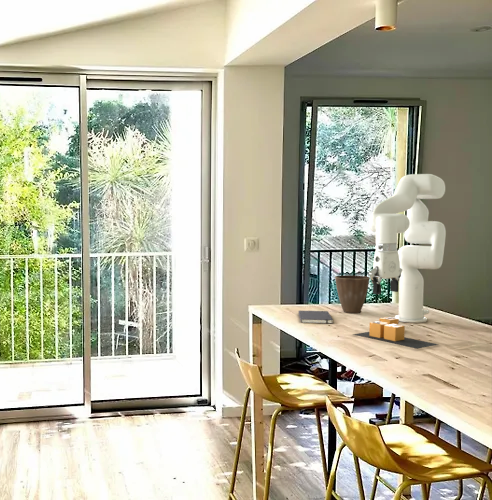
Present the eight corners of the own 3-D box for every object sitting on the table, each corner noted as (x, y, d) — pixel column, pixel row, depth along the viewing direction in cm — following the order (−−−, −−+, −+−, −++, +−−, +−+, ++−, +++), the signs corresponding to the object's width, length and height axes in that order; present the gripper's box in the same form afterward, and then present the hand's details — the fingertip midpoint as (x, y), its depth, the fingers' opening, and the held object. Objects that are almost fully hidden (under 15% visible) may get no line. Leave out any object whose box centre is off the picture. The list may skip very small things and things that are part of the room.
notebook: (298, 313, 291) (301, 322, 270) (298, 310, 290) (301, 319, 270) (327, 314, 288) (332, 323, 267) (327, 311, 288) (333, 319, 267)
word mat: (374, 332, 249) (374, 330, 249) (439, 345, 225) (439, 344, 225) (352, 335, 243) (352, 334, 243) (416, 350, 219) (416, 348, 219)
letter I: (392, 337, 238) (393, 323, 237) (404, 339, 233) (404, 325, 233) (383, 338, 235) (383, 324, 235) (395, 341, 231) (395, 326, 231)
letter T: (387, 329, 254) (387, 316, 254) (398, 331, 250) (398, 318, 249) (379, 330, 252) (379, 317, 251) (389, 333, 247) (390, 319, 247)
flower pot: (332, 308, 303) (332, 274, 302) (365, 309, 301) (365, 275, 300) (337, 314, 288) (337, 278, 287) (372, 314, 286) (372, 278, 285)
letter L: (378, 334, 243) (378, 320, 243) (389, 336, 239) (389, 322, 239) (369, 335, 241) (369, 321, 240) (380, 338, 236) (380, 324, 236)
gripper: (378, 250, 236) (378, 296, 237) (409, 247, 244) (409, 291, 246) (362, 248, 242) (361, 293, 244) (393, 245, 251) (392, 289, 253)
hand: (385, 292), depth 245 cm, fingers open, 9 cm apart
